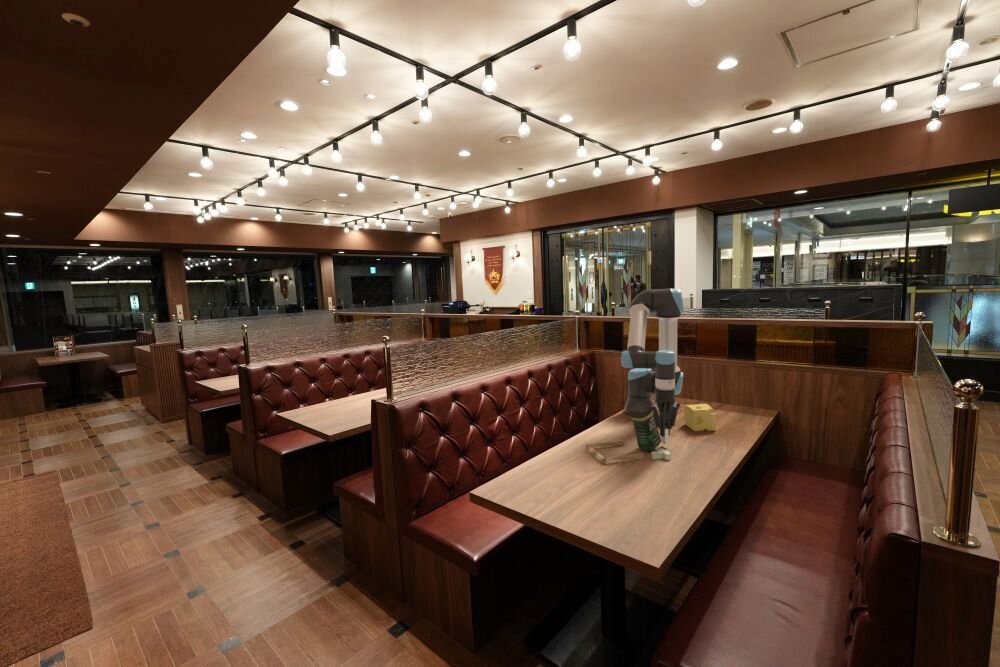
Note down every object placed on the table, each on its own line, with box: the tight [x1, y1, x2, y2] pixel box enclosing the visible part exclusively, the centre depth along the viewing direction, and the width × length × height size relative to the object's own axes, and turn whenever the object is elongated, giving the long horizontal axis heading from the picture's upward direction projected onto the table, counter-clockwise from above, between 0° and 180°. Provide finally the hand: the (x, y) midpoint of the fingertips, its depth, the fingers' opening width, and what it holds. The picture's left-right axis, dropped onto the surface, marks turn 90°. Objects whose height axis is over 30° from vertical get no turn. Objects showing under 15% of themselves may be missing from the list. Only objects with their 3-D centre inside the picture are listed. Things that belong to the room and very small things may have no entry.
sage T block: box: [650, 447, 672, 461], centre depth 170 cm, size 6×6×2 cm
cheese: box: [683, 403, 717, 432], centre depth 201 cm, size 10×11×10 cm
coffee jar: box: [629, 401, 661, 451], centre depth 177 cm, size 10×8×19 cm
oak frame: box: [585, 439, 644, 465], centre depth 175 cm, size 16×17×2 cm
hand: (664, 443), depth 180 cm, fingers closed
